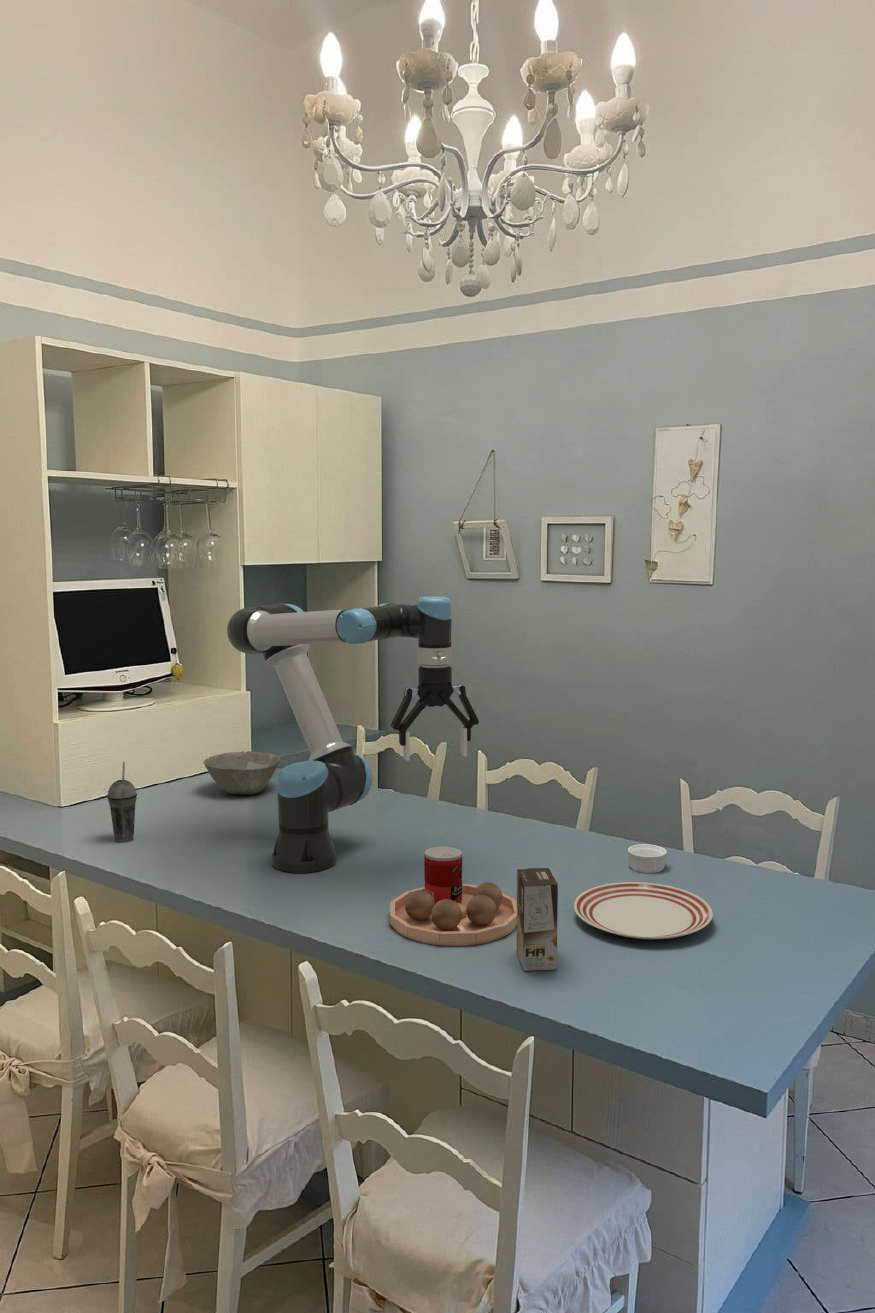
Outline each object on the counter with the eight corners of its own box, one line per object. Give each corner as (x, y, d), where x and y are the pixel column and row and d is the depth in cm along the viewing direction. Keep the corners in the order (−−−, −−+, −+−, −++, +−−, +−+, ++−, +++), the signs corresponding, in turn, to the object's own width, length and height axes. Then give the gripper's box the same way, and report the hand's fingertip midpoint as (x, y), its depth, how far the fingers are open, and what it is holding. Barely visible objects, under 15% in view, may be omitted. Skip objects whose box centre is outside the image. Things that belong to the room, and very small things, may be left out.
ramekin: (666, 875, 227) (667, 857, 227) (627, 873, 229) (627, 855, 228) (665, 862, 236) (666, 845, 235) (627, 860, 237) (628, 843, 237)
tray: (365, 930, 197) (365, 918, 197) (428, 887, 220) (428, 877, 219) (484, 956, 185) (484, 943, 185) (538, 908, 208) (538, 897, 207)
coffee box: (558, 970, 179) (559, 884, 177) (523, 972, 179) (523, 885, 176) (548, 948, 188) (549, 867, 186) (514, 950, 188) (515, 868, 185)
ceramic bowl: (245, 806, 283) (244, 772, 282) (188, 795, 296) (187, 762, 294) (296, 789, 302) (296, 757, 300) (241, 779, 314) (240, 748, 313)
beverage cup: (103, 842, 252) (99, 765, 249) (122, 834, 259) (118, 758, 256) (126, 845, 249) (122, 767, 247) (145, 837, 256) (141, 761, 253)
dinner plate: (686, 962, 183) (687, 945, 182) (551, 930, 197) (551, 914, 197) (729, 912, 206) (729, 897, 205) (605, 887, 220) (605, 873, 220)
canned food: (458, 910, 205) (458, 859, 203) (420, 908, 206) (420, 856, 205) (465, 897, 212) (465, 847, 211) (428, 894, 214) (428, 845, 212)
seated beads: (394, 925, 197) (394, 896, 196) (437, 895, 213) (437, 868, 212) (477, 943, 189) (477, 913, 188) (515, 910, 205) (515, 882, 204)
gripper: (385, 670, 218) (386, 765, 220) (492, 665, 225) (492, 757, 228) (377, 665, 225) (378, 757, 228) (481, 660, 232) (481, 750, 235)
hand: (435, 757), depth 228 cm, fingers open, 13 cm apart
